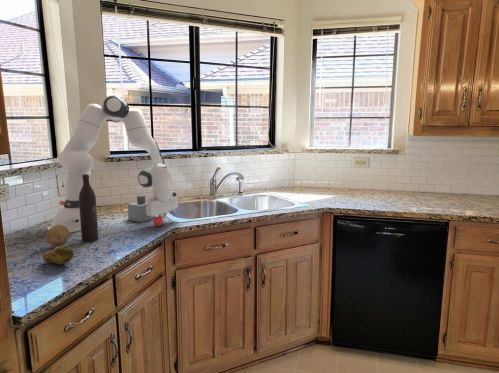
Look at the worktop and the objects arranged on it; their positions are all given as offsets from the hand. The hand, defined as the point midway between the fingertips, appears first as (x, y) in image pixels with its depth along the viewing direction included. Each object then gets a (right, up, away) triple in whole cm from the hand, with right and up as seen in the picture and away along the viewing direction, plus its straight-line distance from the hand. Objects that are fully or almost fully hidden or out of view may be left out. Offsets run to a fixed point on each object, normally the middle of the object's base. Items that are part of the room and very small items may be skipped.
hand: (163, 220), depth 196 cm
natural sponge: (-36, -8, -36) cm, 52 cm away
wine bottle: (-27, -6, -25) cm, 38 cm away
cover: (-14, 0, +10) cm, 17 cm away
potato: (-27, -12, -55) cm, 62 cm away
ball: (-2, 0, -3) cm, 4 cm away
